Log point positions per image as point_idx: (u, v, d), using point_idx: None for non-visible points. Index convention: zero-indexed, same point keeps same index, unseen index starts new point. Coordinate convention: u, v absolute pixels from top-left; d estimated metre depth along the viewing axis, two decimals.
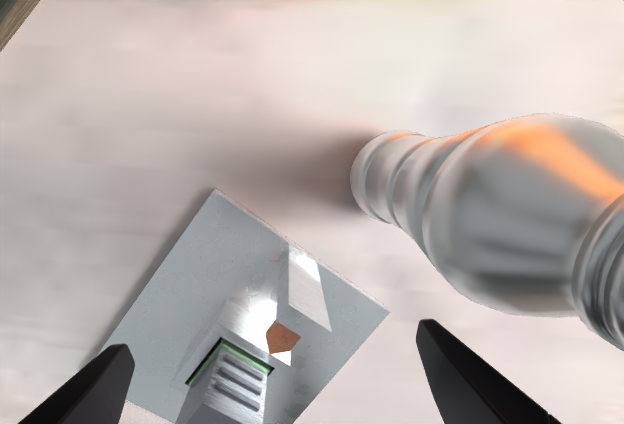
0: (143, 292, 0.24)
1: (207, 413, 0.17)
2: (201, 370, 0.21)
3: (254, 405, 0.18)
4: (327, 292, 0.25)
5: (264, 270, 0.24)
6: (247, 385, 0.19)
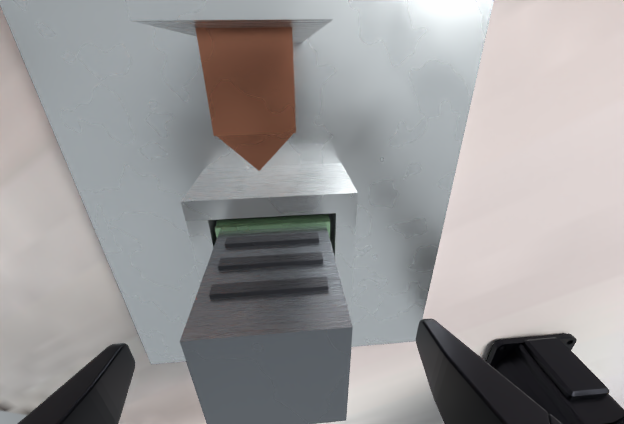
0: (101, 238, 0.15)
1: (211, 352, 0.07)
2: None
3: (313, 285, 0.08)
4: (348, 37, 0.12)
5: None
6: (287, 261, 0.09)
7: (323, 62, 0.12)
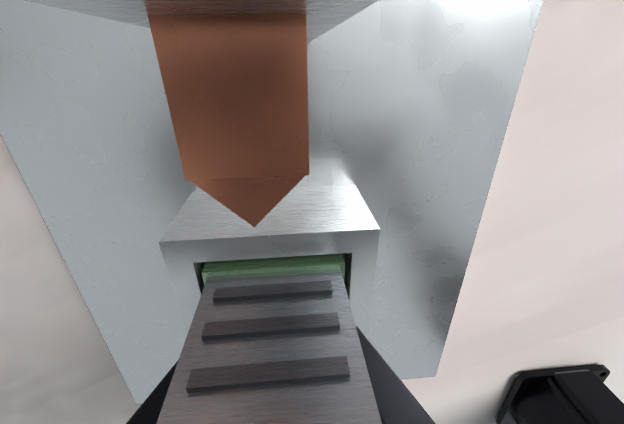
0: (73, 271, 0.13)
1: None
2: None
3: (329, 372, 0.06)
4: (367, 35, 0.09)
5: None
6: (293, 328, 0.07)
7: (336, 66, 0.10)
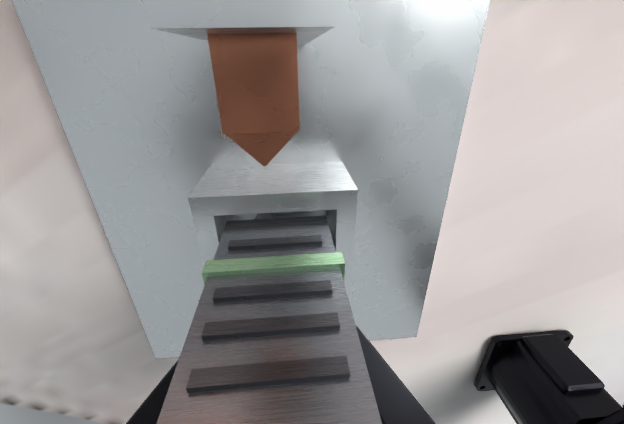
0: (108, 234, 0.15)
1: None
2: None
3: (329, 372, 0.06)
4: (348, 40, 0.12)
5: None
6: (293, 328, 0.07)
7: (325, 64, 0.12)
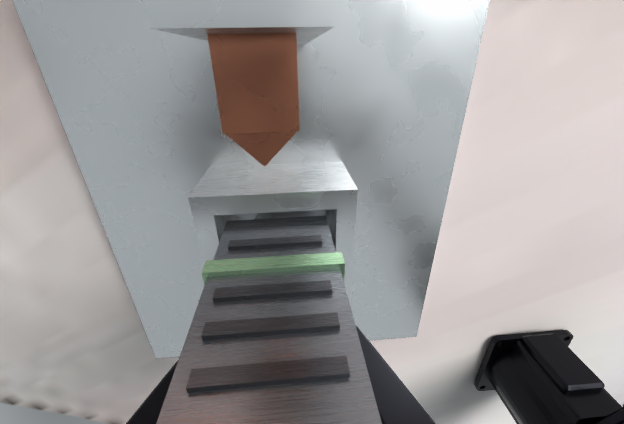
0: (109, 234, 0.15)
1: None
2: None
3: (329, 372, 0.06)
4: (348, 40, 0.12)
5: None
6: (293, 328, 0.07)
7: (324, 64, 0.12)
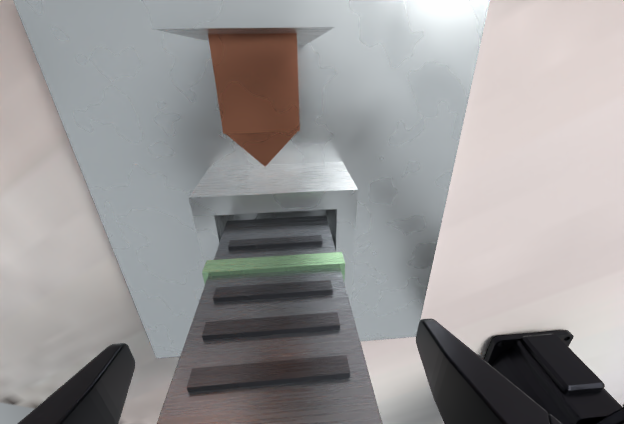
0: (109, 234, 0.15)
1: None
2: None
3: (329, 371, 0.06)
4: (349, 40, 0.12)
5: None
6: (293, 328, 0.07)
7: (325, 64, 0.12)
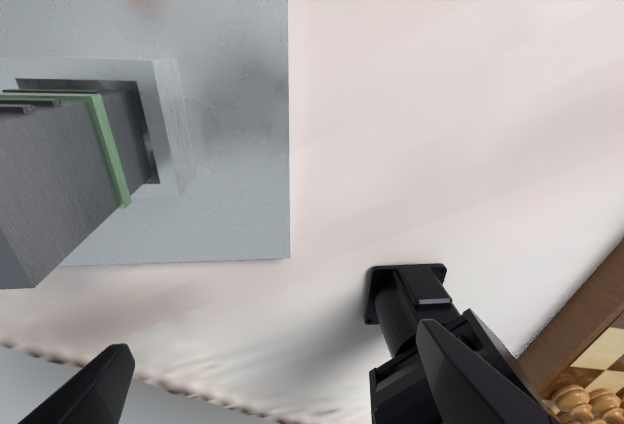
0: None
1: None
2: None
3: None
4: None
5: None
6: None
7: None
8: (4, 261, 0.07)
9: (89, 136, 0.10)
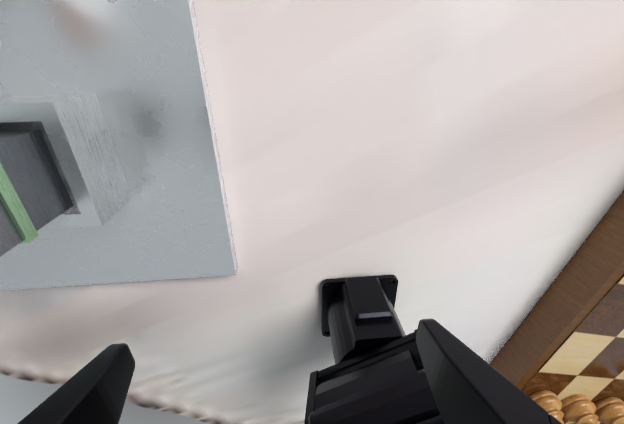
0: None
1: None
2: None
3: None
4: None
5: None
6: None
7: None
8: None
9: None
